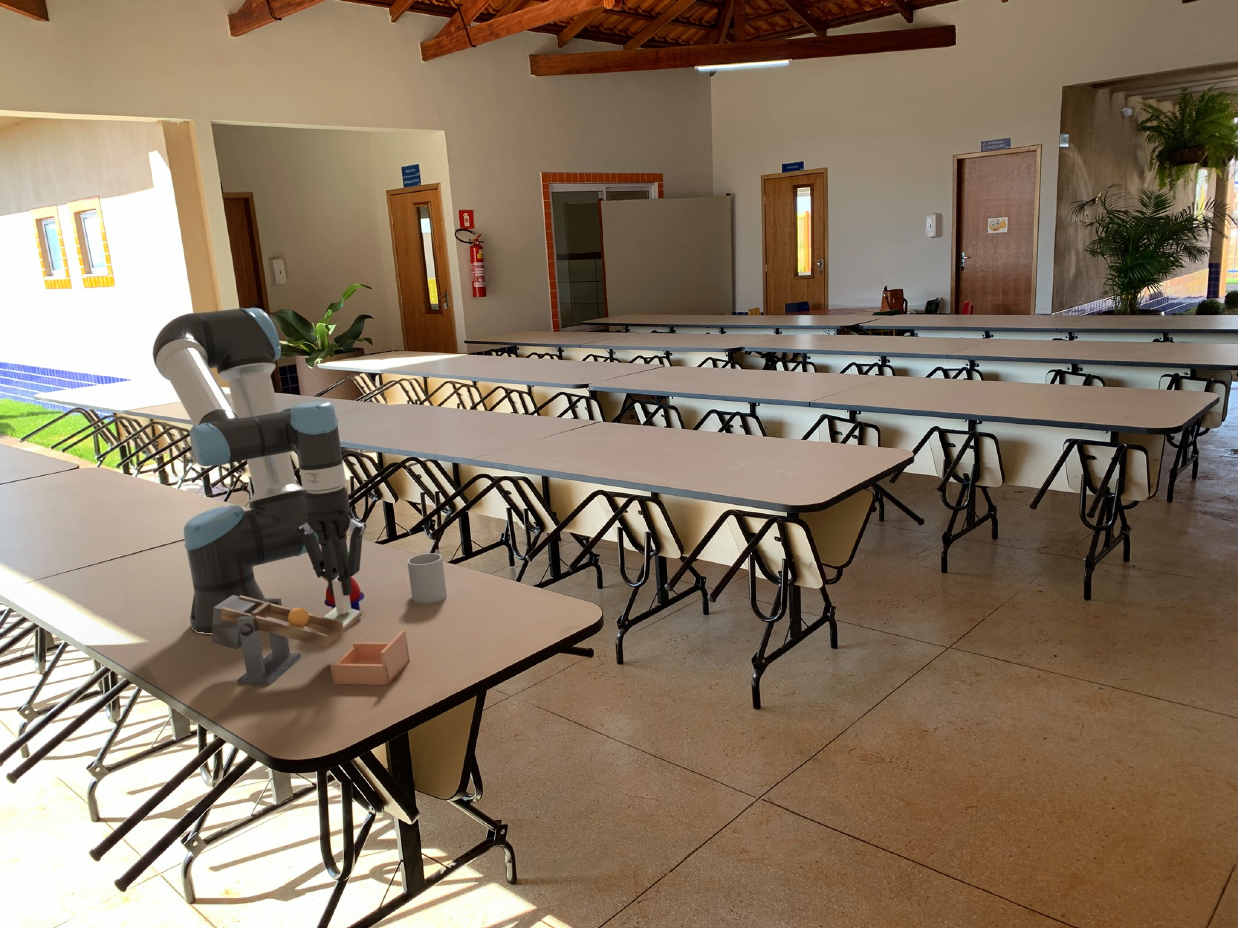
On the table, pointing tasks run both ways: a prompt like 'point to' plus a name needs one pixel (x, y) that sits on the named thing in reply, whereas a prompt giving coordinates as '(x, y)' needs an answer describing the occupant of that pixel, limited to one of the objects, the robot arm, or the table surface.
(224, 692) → the table surface
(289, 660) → the bracket
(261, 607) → the lever
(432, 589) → the cup
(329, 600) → the toy
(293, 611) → the ball
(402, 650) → the pink open box
